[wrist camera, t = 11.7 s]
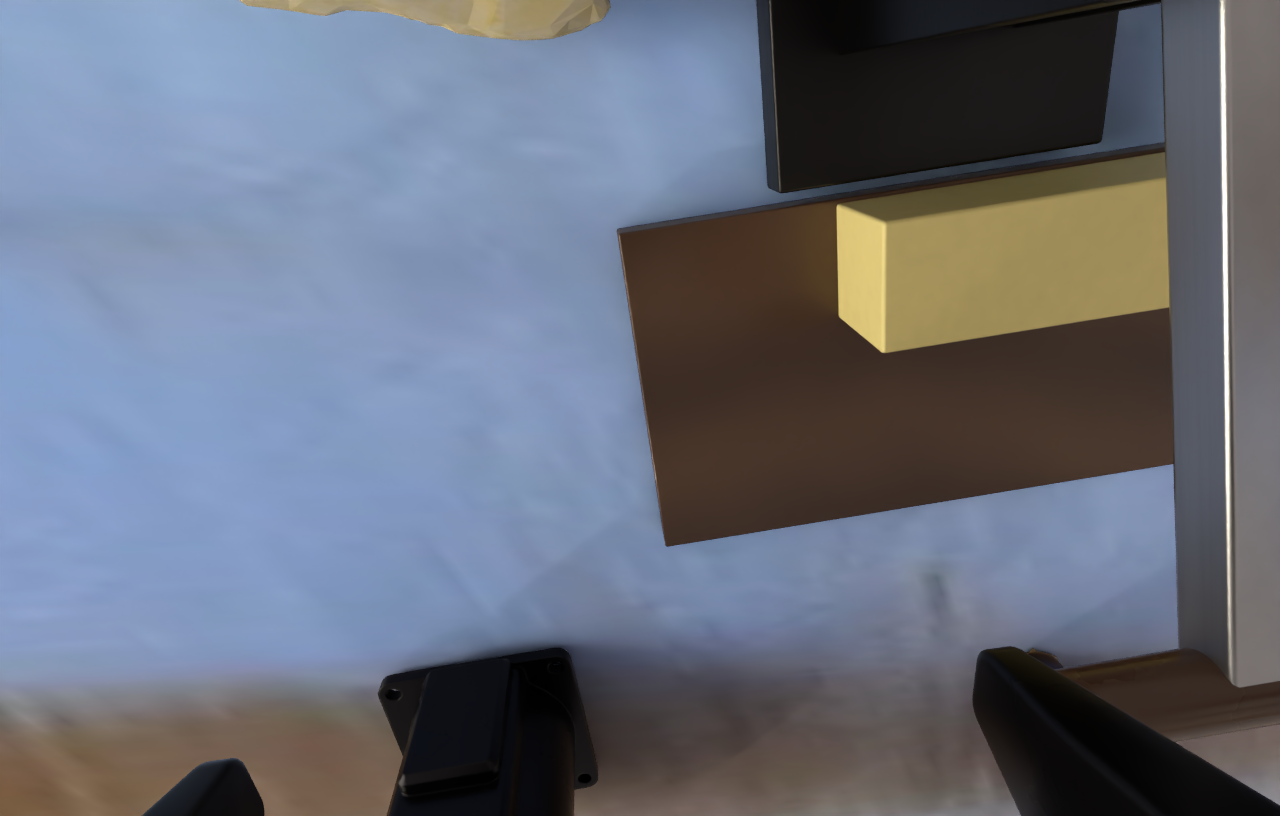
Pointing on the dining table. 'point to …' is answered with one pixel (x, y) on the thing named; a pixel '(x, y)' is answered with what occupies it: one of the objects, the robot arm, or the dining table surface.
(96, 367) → the dining table surface
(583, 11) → the cheese
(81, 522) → the dining table surface
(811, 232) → the butter board
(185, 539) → the dining table surface
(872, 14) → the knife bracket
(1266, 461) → the grey brown t-shaped piece
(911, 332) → the butter
